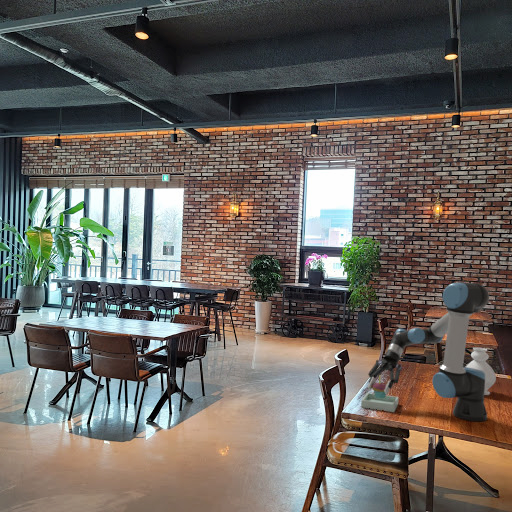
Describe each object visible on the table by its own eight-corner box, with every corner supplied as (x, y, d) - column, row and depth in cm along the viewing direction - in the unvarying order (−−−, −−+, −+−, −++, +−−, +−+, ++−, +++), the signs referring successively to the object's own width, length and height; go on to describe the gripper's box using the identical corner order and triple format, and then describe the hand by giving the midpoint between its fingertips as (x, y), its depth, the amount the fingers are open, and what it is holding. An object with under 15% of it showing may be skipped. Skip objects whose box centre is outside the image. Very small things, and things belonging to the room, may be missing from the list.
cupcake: (385, 400, 252) (386, 376, 252) (368, 397, 257) (370, 373, 257) (390, 396, 260) (392, 373, 260) (374, 393, 264) (375, 370, 264)
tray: (394, 412, 248) (394, 405, 248) (361, 407, 254) (361, 400, 254) (398, 403, 262) (398, 397, 262) (366, 399, 268) (367, 392, 268)
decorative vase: (458, 386, 305) (460, 344, 305) (490, 389, 301) (492, 347, 301) (464, 394, 288) (466, 350, 287) (498, 397, 284) (500, 352, 284)
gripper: (414, 362, 263) (399, 399, 251) (377, 355, 277) (360, 390, 265) (410, 353, 259) (394, 391, 247) (372, 347, 273) (356, 382, 261)
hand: (377, 390), depth 256 cm, fingers closed on cupcake, 8 cm apart
